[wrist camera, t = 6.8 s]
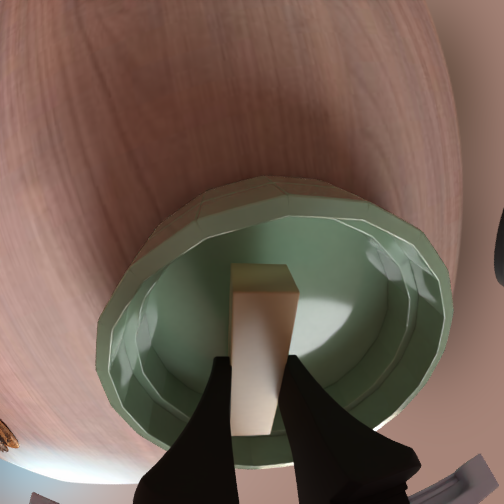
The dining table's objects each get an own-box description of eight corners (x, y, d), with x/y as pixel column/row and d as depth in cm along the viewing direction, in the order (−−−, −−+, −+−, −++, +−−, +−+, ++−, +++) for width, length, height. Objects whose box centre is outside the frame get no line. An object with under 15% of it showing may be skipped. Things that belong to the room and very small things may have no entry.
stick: (286, 263, 11) (300, 292, 9) (265, 404, 14) (270, 434, 12) (230, 262, 11) (232, 291, 9) (226, 405, 14) (228, 436, 12)
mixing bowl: (423, 193, 13) (491, 220, 8) (359, 396, 18) (382, 445, 14) (115, 172, 11) (55, 194, 6) (152, 405, 16) (142, 465, 12)
